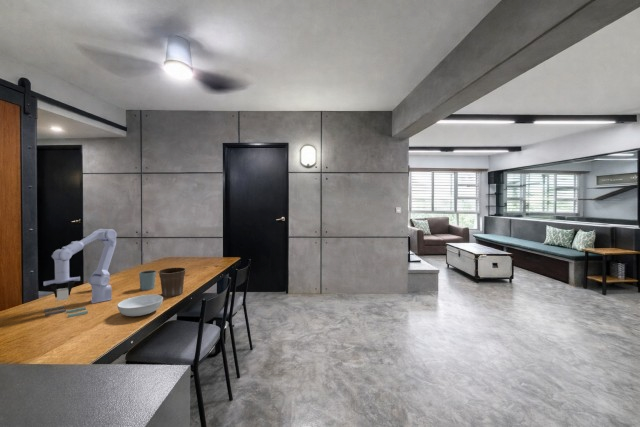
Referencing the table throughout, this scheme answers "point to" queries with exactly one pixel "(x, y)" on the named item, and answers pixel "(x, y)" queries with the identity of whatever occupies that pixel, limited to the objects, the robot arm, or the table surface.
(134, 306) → the serving bowl
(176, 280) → the plant pot
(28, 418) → the table surface
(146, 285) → the drinking glass
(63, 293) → the grey cube
